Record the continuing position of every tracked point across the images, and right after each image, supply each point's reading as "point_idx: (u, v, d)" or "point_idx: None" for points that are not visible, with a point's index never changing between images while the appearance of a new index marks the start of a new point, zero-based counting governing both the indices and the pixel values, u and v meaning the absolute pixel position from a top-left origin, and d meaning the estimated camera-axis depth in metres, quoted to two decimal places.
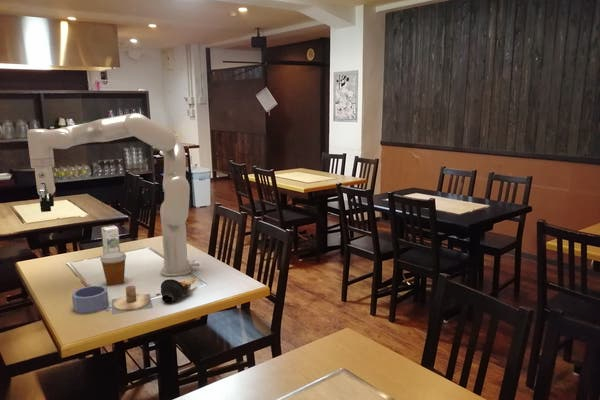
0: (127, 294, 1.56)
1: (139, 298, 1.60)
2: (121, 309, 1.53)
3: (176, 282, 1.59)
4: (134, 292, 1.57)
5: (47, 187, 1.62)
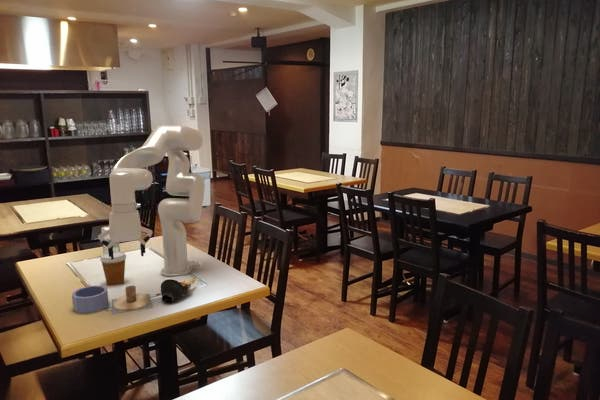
0: (127, 294, 1.56)
1: (139, 298, 1.60)
2: (121, 309, 1.53)
3: (176, 282, 1.59)
4: (134, 292, 1.57)
5: None
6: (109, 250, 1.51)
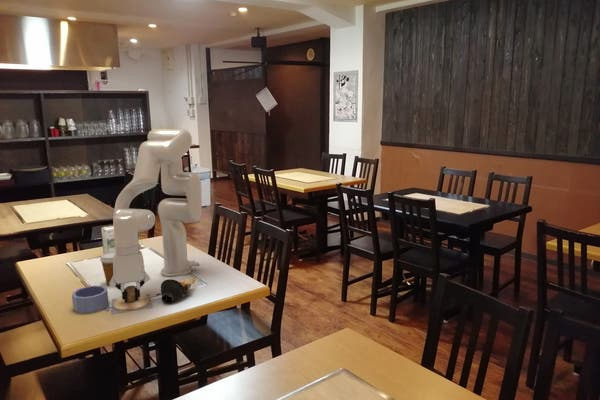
0: (127, 294, 1.56)
1: (139, 298, 1.60)
2: (121, 309, 1.53)
3: (176, 282, 1.59)
4: (134, 292, 1.57)
5: None
6: (123, 293, 1.56)
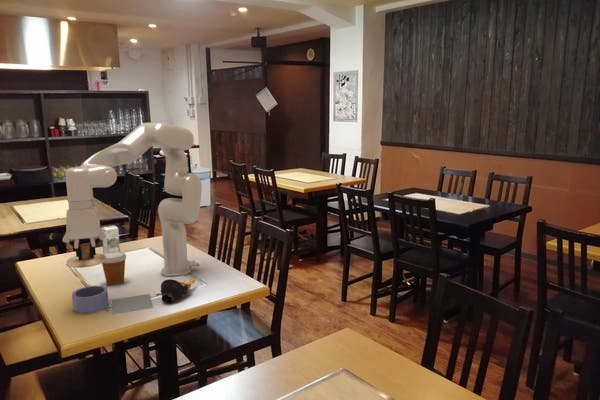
0: (81, 251, 1.51)
1: (95, 256, 1.55)
2: (74, 266, 1.47)
3: (176, 282, 1.59)
4: (89, 249, 1.52)
5: None
6: (76, 250, 1.50)
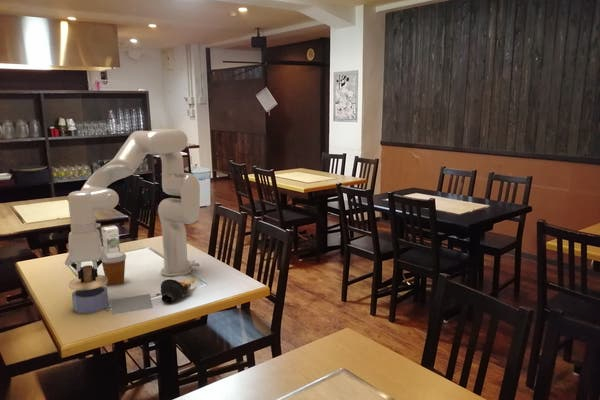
0: (83, 273, 1.52)
1: (97, 278, 1.56)
2: (76, 288, 1.49)
3: (176, 282, 1.59)
4: (91, 272, 1.53)
5: None
6: (79, 273, 1.52)
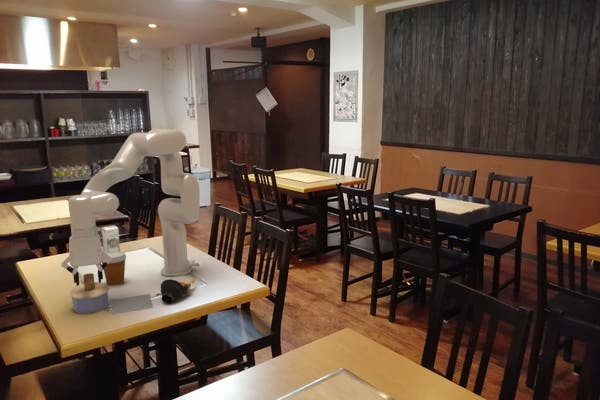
0: (85, 282, 1.53)
1: (98, 286, 1.57)
2: (78, 297, 1.49)
3: (176, 282, 1.59)
4: (92, 280, 1.54)
5: None
6: (74, 276, 1.52)
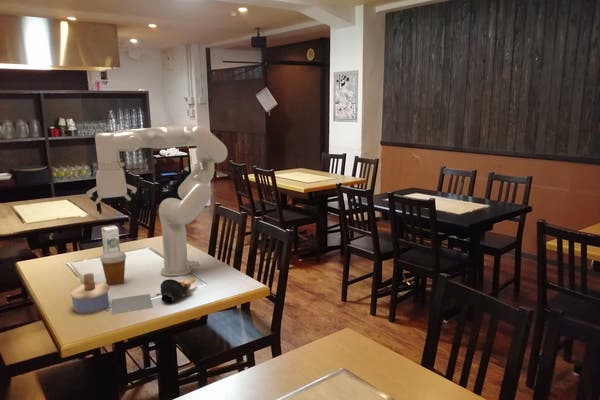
0: (85, 282, 1.53)
1: (98, 286, 1.57)
2: (78, 297, 1.49)
3: (176, 282, 1.59)
4: (92, 280, 1.54)
5: None
6: (97, 205, 1.66)
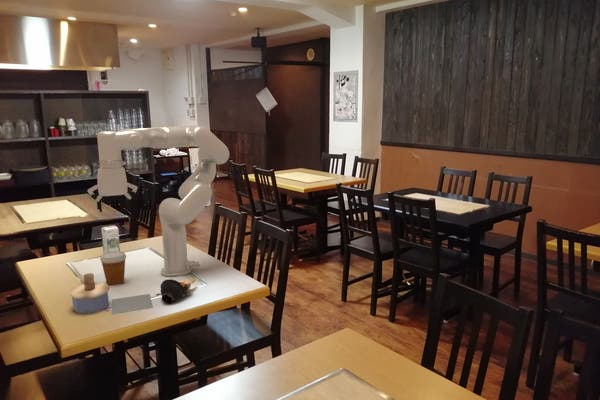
0: (85, 282, 1.53)
1: (98, 286, 1.57)
2: (78, 297, 1.49)
3: (176, 282, 1.59)
4: (92, 280, 1.54)
5: None
6: (98, 203, 1.66)
